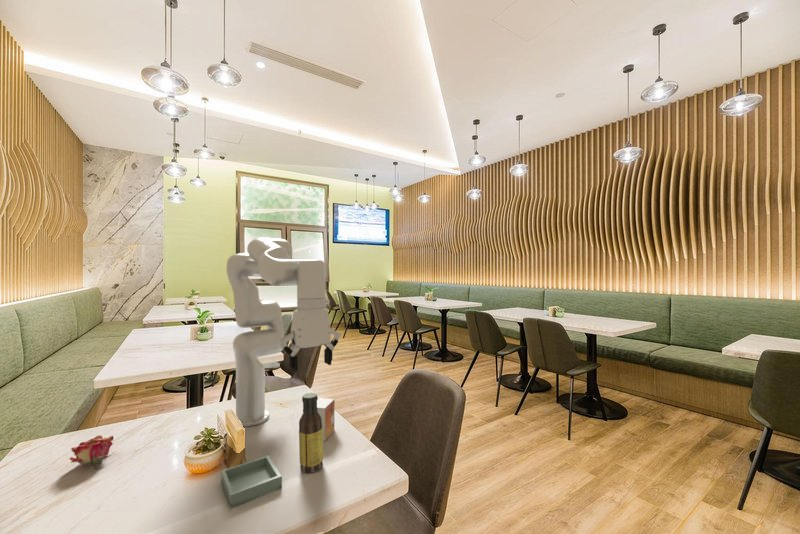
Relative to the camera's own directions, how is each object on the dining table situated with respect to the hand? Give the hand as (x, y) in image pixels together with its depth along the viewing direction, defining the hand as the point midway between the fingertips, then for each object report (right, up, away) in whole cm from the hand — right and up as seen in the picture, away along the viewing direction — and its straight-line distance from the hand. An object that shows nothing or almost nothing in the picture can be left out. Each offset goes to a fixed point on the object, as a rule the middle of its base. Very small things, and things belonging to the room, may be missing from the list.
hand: (311, 366), depth 92 cm
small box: (-1, -28, +18) cm, 33 cm away
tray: (-13, -28, -7) cm, 32 cm away
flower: (-61, -28, +1) cm, 67 cm away
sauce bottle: (0, -28, 0) cm, 28 cm away
